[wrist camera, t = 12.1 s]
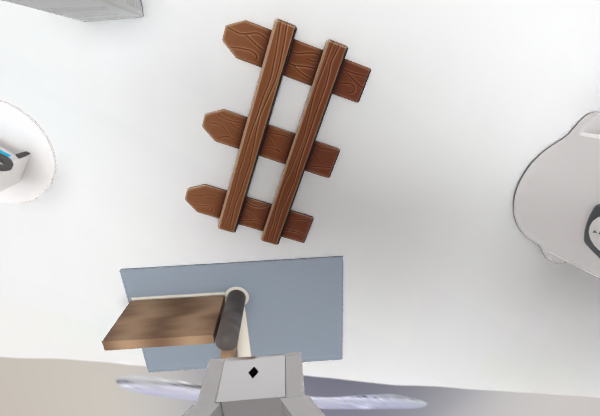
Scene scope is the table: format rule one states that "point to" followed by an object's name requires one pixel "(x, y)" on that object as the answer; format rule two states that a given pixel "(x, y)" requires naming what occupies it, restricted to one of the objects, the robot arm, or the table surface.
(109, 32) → the table surface
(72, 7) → the skincare box
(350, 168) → the table surface
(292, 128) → the table surface
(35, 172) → the white upright piece
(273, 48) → the decorative fence
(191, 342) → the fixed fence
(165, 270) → the card
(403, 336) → the table surface
